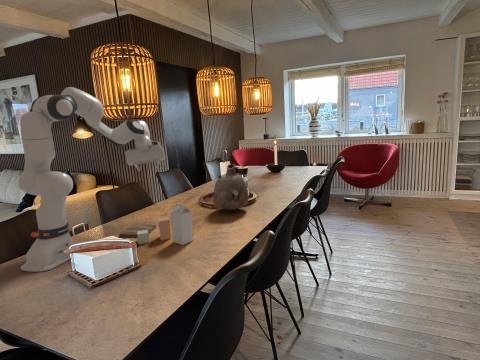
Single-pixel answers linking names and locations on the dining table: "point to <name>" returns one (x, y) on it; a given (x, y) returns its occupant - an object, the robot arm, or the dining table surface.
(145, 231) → the sage block
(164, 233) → the terracotta block
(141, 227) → the walnut board
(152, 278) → the dining table surface
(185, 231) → the milk carton
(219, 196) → the jug
